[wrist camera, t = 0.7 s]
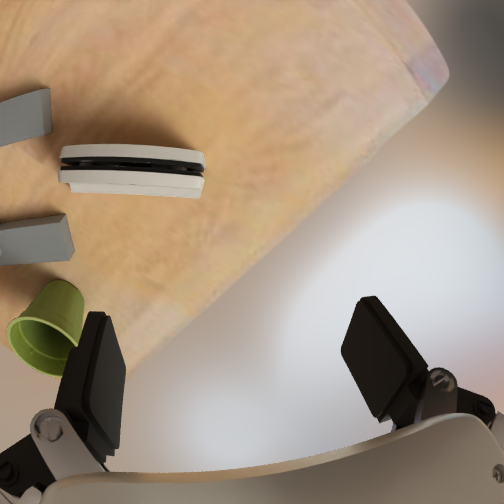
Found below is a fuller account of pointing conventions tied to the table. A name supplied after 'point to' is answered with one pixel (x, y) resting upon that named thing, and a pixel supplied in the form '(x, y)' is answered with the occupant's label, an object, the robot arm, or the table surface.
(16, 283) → the table surface
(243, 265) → the table surface
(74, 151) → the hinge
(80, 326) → the plant pot
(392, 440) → the robot arm
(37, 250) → the gray u-shaped block
